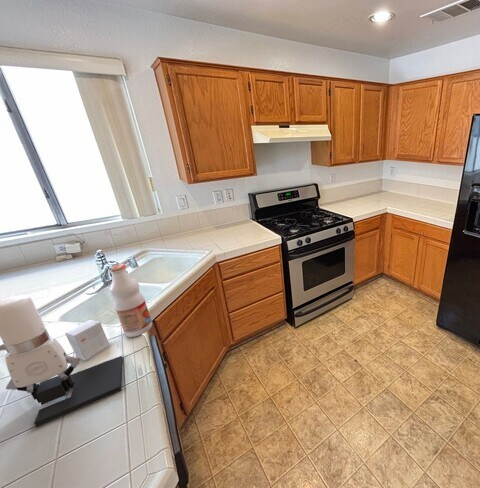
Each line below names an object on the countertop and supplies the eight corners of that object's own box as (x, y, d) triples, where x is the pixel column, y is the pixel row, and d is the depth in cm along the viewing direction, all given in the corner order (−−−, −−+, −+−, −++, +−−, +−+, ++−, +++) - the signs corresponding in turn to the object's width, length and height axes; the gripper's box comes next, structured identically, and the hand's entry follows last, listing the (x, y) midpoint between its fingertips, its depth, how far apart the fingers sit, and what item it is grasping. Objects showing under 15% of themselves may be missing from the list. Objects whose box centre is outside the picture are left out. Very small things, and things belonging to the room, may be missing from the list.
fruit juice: (122, 331, 105) (98, 267, 95) (148, 320, 111) (128, 259, 102) (129, 341, 99) (103, 274, 89) (156, 328, 105) (135, 264, 96)
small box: (101, 342, 99) (91, 318, 95) (110, 345, 97) (100, 321, 93) (75, 357, 92) (64, 332, 88) (85, 361, 90) (73, 335, 86)
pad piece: (41, 405, 72) (35, 394, 70) (46, 392, 76) (40, 382, 74) (65, 395, 74) (60, 384, 73) (69, 383, 78) (64, 373, 77)
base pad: (36, 427, 68) (33, 423, 67) (51, 386, 80) (49, 382, 80) (121, 390, 77) (119, 386, 77) (123, 358, 90) (121, 355, 89)
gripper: (-28, 365, 62) (7, 420, 68) (69, 335, 71) (92, 386, 77) (-14, 347, 67) (17, 400, 73) (73, 322, 76) (95, 370, 82)
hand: (55, 392), depth 75 cm, fingers closed on pad piece, 5 cm apart
